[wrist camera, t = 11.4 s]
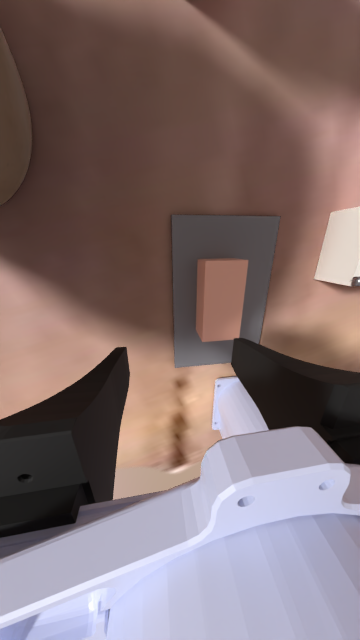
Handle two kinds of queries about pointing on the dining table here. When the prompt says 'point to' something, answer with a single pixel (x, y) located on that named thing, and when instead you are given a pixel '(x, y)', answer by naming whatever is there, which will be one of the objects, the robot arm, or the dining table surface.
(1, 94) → the plant pot
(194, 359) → the mat
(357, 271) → the panel
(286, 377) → the robot arm
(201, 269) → the tall pink rectangular block
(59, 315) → the dining table surface
